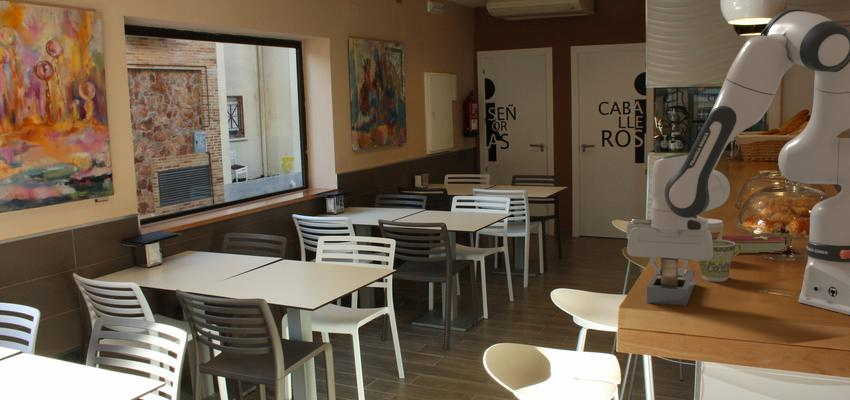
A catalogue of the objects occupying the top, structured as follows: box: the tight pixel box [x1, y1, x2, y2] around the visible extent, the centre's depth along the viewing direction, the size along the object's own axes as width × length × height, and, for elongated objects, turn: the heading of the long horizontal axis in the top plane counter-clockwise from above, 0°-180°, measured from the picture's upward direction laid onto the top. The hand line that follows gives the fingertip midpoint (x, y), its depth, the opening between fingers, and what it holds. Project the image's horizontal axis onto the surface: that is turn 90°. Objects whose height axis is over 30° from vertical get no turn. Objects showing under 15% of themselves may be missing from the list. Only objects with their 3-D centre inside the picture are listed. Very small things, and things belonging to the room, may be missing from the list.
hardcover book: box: [722, 234, 786, 254], centre depth 246 cm, size 12×21×4 cm, turn 86°
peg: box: [660, 258, 679, 287], centre depth 190 cm, size 4×4×8 cm
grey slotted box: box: [646, 268, 696, 307], centre depth 195 cm, size 22×9×4 cm, turn 156°
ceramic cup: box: [698, 240, 741, 283], centre depth 209 cm, size 13×10×10 cm
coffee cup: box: [693, 218, 724, 263], centre depth 232 cm, size 9×9×12 cm
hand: (669, 275), depth 190 cm, fingers closed on peg, 4 cm apart
